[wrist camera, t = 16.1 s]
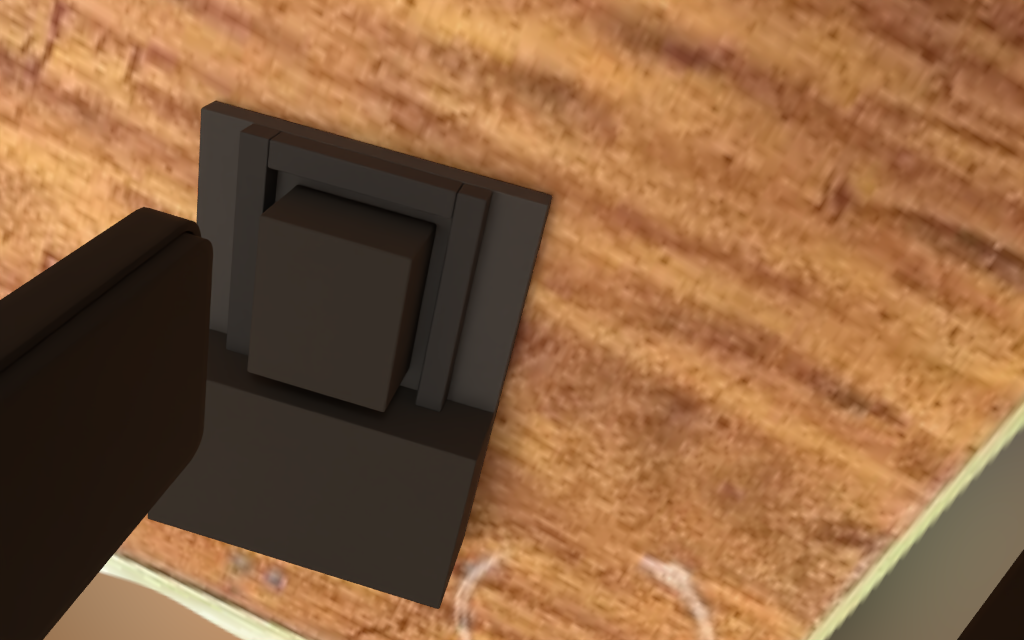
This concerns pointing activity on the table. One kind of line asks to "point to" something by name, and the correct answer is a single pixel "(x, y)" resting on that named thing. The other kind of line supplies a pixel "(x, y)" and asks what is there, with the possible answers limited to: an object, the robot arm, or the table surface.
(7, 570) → the robot arm
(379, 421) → the pad base
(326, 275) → the loose pad
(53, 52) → the table surface
